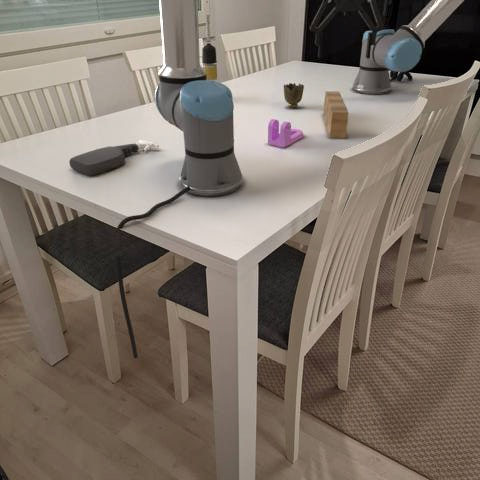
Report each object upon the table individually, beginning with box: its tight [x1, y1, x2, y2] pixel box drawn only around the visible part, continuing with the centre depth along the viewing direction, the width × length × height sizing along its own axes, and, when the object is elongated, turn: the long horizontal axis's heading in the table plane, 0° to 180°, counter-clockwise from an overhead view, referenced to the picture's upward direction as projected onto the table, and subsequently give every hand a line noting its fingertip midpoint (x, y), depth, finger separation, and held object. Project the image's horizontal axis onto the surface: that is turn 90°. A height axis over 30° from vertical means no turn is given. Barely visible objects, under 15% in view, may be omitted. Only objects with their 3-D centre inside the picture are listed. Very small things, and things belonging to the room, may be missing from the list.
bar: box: [323, 90, 349, 139], centre depth 145 cm, size 25×5×8 cm, turn 175°
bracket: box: [267, 118, 304, 148], centre depth 134 cm, size 13×6×7 cm, turn 143°
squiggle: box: [389, 69, 414, 83], centre depth 198 cm, size 11×10×15 cm
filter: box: [201, 14, 218, 82], centre depth 171 cm, size 6×6×30 cm
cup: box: [283, 82, 305, 109], centre depth 164 cm, size 8×7×8 cm
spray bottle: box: [68, 139, 160, 177], centre depth 124 cm, size 3×11×24 cm
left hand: (343, 57), depth 129 cm, fingers open, 13 cm apart
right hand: (365, 15), depth 156 cm, fingers open, 13 cm apart
